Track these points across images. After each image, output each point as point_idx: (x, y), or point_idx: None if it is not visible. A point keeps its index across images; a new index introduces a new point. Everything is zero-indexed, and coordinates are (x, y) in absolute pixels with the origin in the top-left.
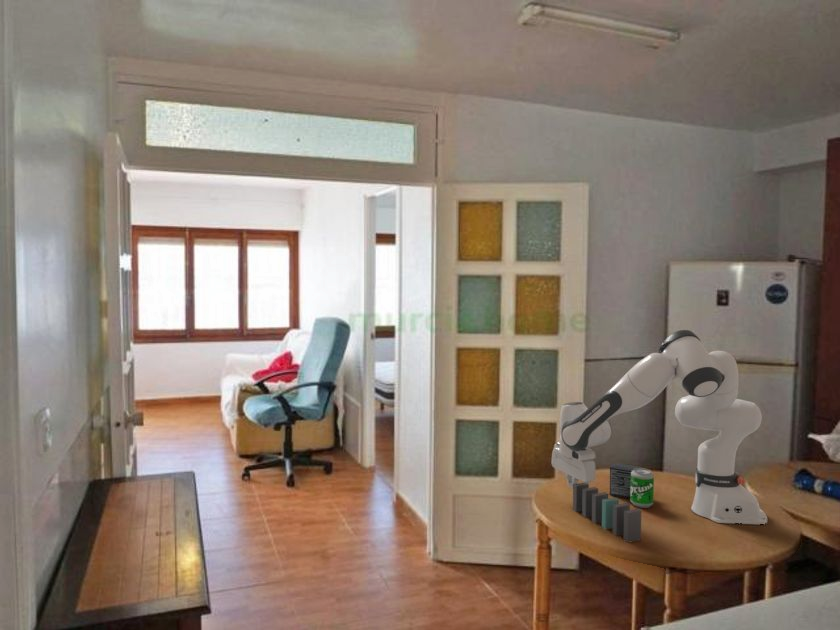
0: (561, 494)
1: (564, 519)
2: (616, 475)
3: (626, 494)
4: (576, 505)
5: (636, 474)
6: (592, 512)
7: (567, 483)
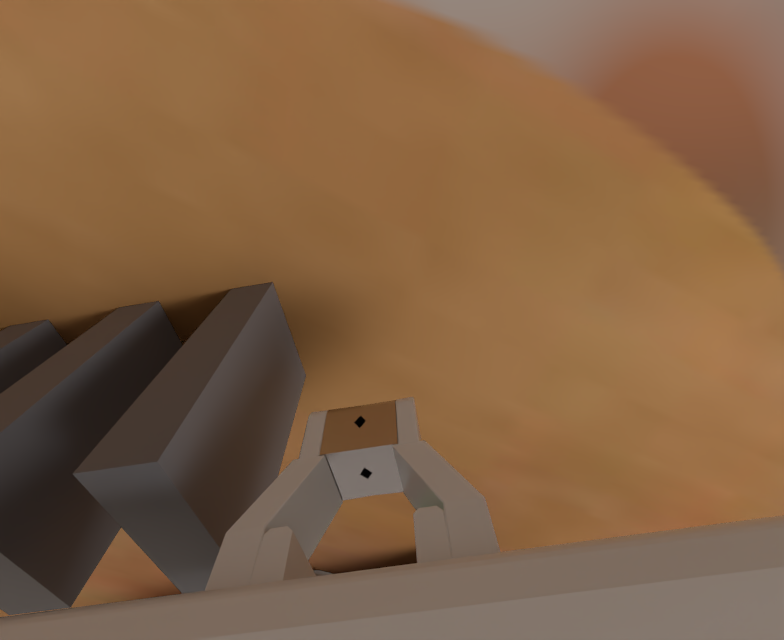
0: (591, 332)
1: (43, 106)
2: None
3: None
4: (210, 316)
5: None
6: None
7: (412, 417)
